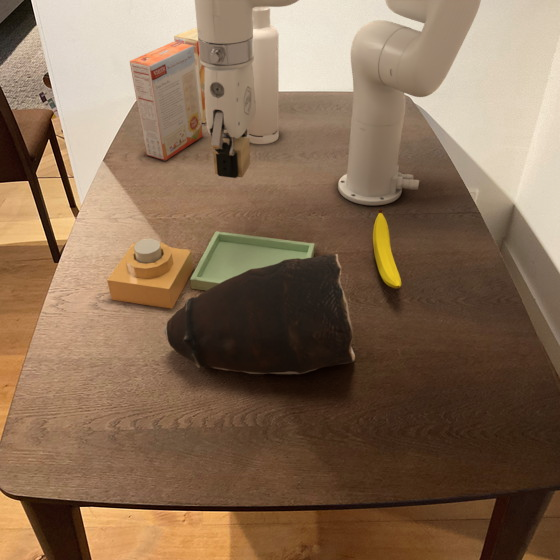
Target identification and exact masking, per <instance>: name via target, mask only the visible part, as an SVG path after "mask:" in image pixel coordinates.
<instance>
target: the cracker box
mask: <svg viewBox="0 0 560 560" xmlns="http://www.w3.org/2000/svg"><path fill="white" fill-rule="evenodd" d="M129 67H130V72H131V77H132V82H133V88H134V95H135V100H136V104H137V111H138V115H139V117H138V118H139V120H140V128H141V134H142V139H143V143H144V149H145V155H146V156H148V157H152V158H155V159H159V160H162V161H167V160H169V159H170V158H172V157H174V156H175V155H177V154H178V153H180V152H181V151H183V150H184V149H186V148H187V147H189V146H191V145H192V144H193V143H195V142H197V141H198V140H200V139H201V138H203V136H204V134H203V125H202V123H201V113H200V104H199V95H198V85H197V76H196V66H195V57H194V47H193V45H187V44H182V43H178V42H175V41H172V42H169V43H167V44H165V45H163V46H160V47H158V48H156V49H154V50H152V51H149V52H147V53H144V54H142V55H140V56H137V57H135V58H133V59H131V60H129Z"/></svg>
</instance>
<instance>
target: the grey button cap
mask: <svg viewBox="0 0 560 560" xmlns="http://www.w3.org/2000/svg"><path fill="white" fill-rule="evenodd" d="M160 242H161V241H159V240H157V239H156V238H143V239H141V240H138V241H137V242H135V243H136V244H135V245H134V251H135V256H136V260H137V261H138V262H139V263H145V264H148V263H153V262H156V261H158V260H159V259H161V257H162V251H161V245H160Z"/></svg>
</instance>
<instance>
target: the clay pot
mask: <svg viewBox="0 0 560 560" xmlns="http://www.w3.org/2000/svg"><path fill="white" fill-rule="evenodd" d="M342 268H343V267H342V265H341V263H340V259H339V254H338V253H329V254H323V255H318V256H313V257H312V258H305V259H300V258H296V259H287V260H283V261H282V262H280V263H277V264H274V265H270V266H266V267H262V268H255V269H250V270H248V271H246V272H244V273H242V274H240V275H237V276H234V277H232V278H230V279H227V280H225V281H223V282H221V283H220V284H218V285H216V286H214V287H212V288H210V289H208V290H207V291H205V290H204V292H201V293H200V294H199V295H198V296H193V297H190V298H188V299H187V300H186V302H185V304H184V306H183V307H181V308H180V309H179V310H177V311H176V312H175V313H174V314H172V316H171V317H170V318H169V319H167V321H166V323H165V326H164V334H165V335H164V336H165V338H166V340H167V343H168V344H169V346H170V347H171V348H172V349H173V350H174V351H175V352H176V353H177V354H179V355H180V356H182V357H183V358H185V360H187V361H189V362H190V363H192V364H193V365H194V366H196V367H197V368H201V367H202V368H208V369H209V368H212V369H215V370H216V369H217V370H223V371H231V372H232V371H233V372H239V373H240V372H241V373H246V374H249V375H251V374H252V375H264V374H266V375H267V374H272V375H273V374H275V375H303V374H306V373H309V372H313V371H316V370H319V369H322V368H326V367H333V366H338V365H345V364H350V363H353V362H354V361H355V359H356V354H355V352H354V350H353V346H352V343H353V340H354V330H353V325H352V321H351V313H350V309H349V303H348V299H347V298H346V294H345V291H344V289H343V285H342V283H341V282H342Z"/></svg>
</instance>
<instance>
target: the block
mask: <svg viewBox="0 0 560 560" xmlns="http://www.w3.org/2000/svg"><path fill="white" fill-rule="evenodd" d="M223 141H224V142H226V143H228V145H229V139H227V138H223ZM250 144H251V143H250V140H249V138H243V137H239V138H238V139H237V138H235V153H237V160H238V176H237V178H243V177H244V175H245V174H246V172H247V170H248V169H249V167H250V165H251V145H250ZM212 155H213V168H214V175H218V174H217V161H216V154H215V149H214V148H213V147H212Z"/></svg>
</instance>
